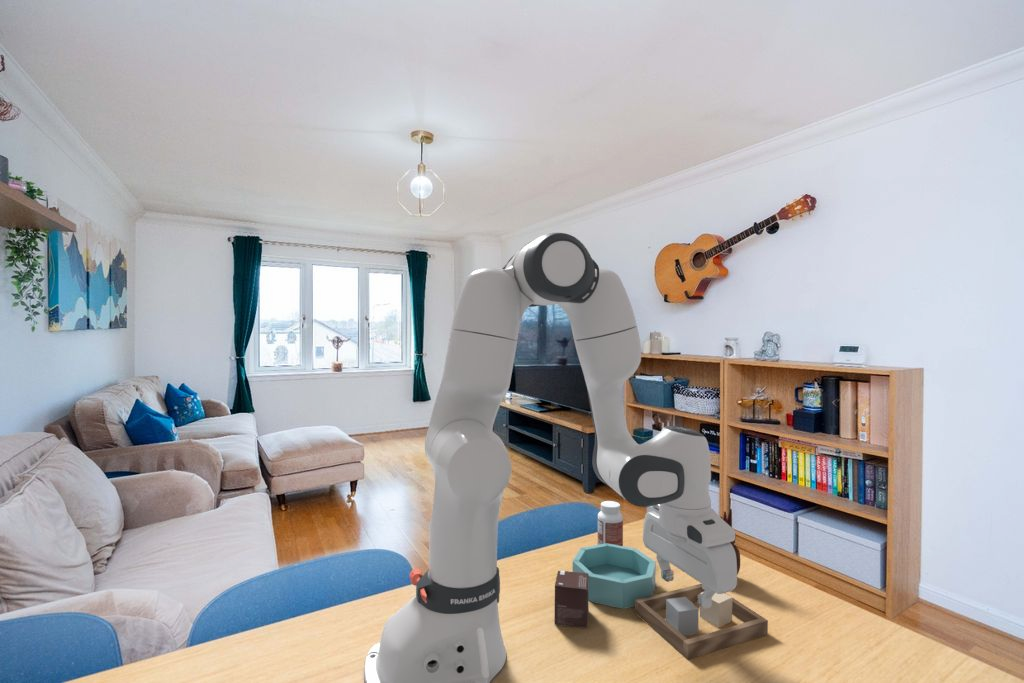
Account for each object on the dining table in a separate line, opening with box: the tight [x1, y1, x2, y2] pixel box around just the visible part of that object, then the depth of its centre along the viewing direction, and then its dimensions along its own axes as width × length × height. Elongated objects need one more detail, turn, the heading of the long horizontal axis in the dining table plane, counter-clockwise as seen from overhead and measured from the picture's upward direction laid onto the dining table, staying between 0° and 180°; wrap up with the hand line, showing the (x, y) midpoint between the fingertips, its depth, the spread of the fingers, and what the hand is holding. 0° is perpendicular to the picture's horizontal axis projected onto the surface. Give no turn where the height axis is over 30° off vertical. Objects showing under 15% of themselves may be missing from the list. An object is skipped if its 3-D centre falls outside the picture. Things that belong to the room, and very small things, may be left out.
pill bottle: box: [597, 500, 624, 546], centre depth 118 cm, size 6×6×11 cm
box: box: [554, 570, 589, 629], centre depth 89 cm, size 6×6×7 cm
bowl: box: [572, 543, 657, 610], centre depth 101 cm, size 16×16×5 cm
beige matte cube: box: [699, 592, 733, 629], centre depth 89 cm, size 4×4×4 cm
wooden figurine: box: [720, 508, 741, 576], centre depth 104 cm, size 7×6×15 cm
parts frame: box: [634, 583, 769, 661], centre depth 88 cm, size 18×14×2 cm
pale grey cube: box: [665, 597, 700, 637], centre depth 86 cm, size 4×4×4 cm
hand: (685, 592), depth 87 cm, fingers open, 8 cm apart
